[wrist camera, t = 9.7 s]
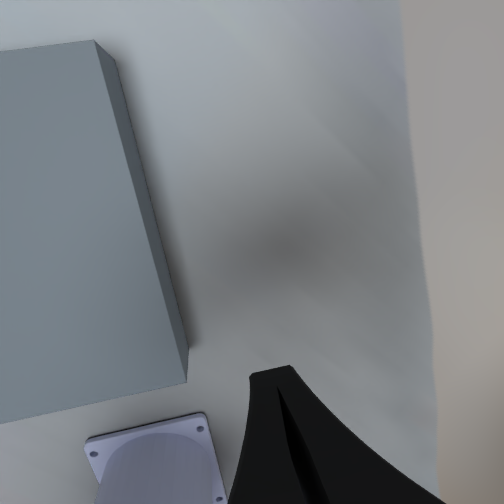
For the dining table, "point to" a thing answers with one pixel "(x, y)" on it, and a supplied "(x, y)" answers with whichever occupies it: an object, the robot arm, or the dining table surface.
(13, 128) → the bench plate
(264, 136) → the dining table surface
